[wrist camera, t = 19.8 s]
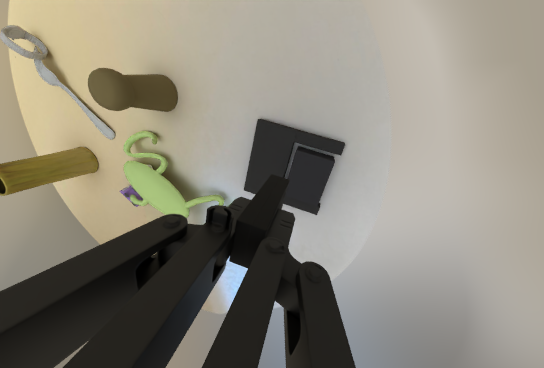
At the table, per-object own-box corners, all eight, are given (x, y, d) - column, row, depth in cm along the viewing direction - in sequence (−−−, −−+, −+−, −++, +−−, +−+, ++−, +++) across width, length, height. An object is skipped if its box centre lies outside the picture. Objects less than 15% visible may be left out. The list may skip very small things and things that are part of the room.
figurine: (201, 255, 48) (187, 273, 43) (115, 181, 45) (89, 190, 40) (245, 212, 40) (234, 228, 35) (143, 120, 38) (115, 122, 33)
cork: (165, 118, 36) (106, 124, 26) (142, 91, 35) (72, 87, 26) (183, 95, 34) (125, 92, 24) (159, 65, 33) (88, 49, 23)
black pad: (246, 187, 38) (243, 190, 36) (260, 118, 32) (257, 119, 31) (316, 211, 36) (316, 215, 34) (344, 142, 30) (345, 144, 29)
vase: (78, 167, 47) (-14, 191, 34) (74, 143, 44) (-28, 158, 31) (100, 175, 46) (13, 203, 33) (96, 151, 44) (1, 171, 31)
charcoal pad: (334, 156, 32) (335, 161, 29) (317, 198, 35) (317, 206, 32) (298, 146, 32) (296, 149, 30) (285, 188, 36) (282, 194, 33)
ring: (35, 29, 36) (-6, 19, 32) (56, 54, 37) (18, 47, 32) (31, 41, 37) (-10, 33, 33) (51, 65, 38) (14, 60, 34)
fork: (121, 138, 43) (109, 141, 41) (32, 55, 38) (14, 53, 36) (126, 130, 42) (115, 133, 40) (36, 43, 37) (17, 40, 35)
